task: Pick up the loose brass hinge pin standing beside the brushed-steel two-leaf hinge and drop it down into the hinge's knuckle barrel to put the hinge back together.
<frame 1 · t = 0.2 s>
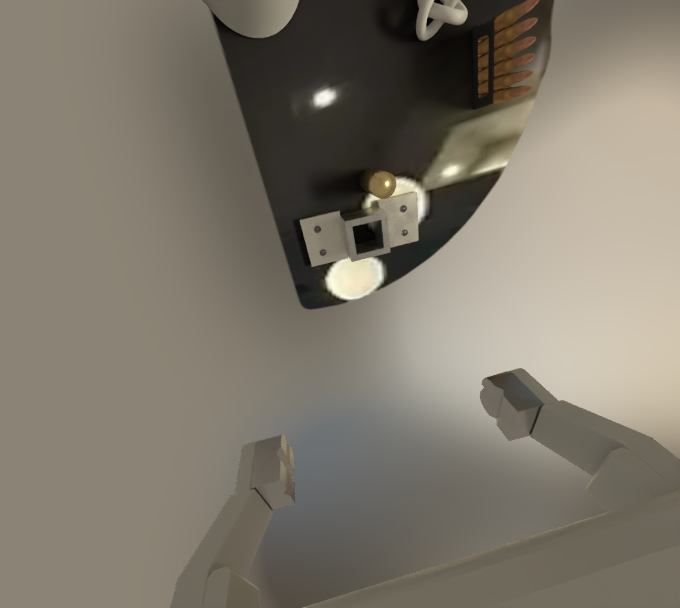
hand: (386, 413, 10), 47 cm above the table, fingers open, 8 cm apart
knot: (433, 13, 40), on the table
hinge: (361, 229, 55), on the table
hinge pin: (369, 180, 50), on the table
ammunition clip: (477, 70, 44), on the table
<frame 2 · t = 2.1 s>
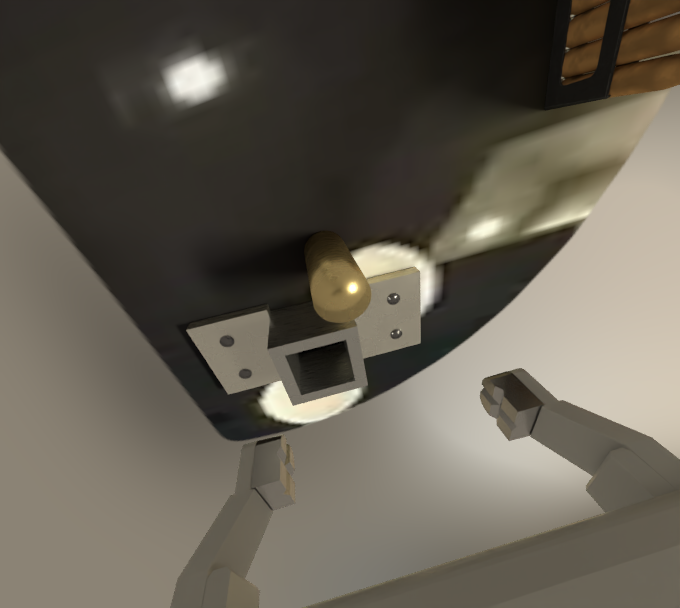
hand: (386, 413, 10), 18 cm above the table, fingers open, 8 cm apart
hinge: (316, 330, 30), on the table
hinge pin: (325, 251, 25), on the table
ammunition clip: (563, 20, 19), on the table
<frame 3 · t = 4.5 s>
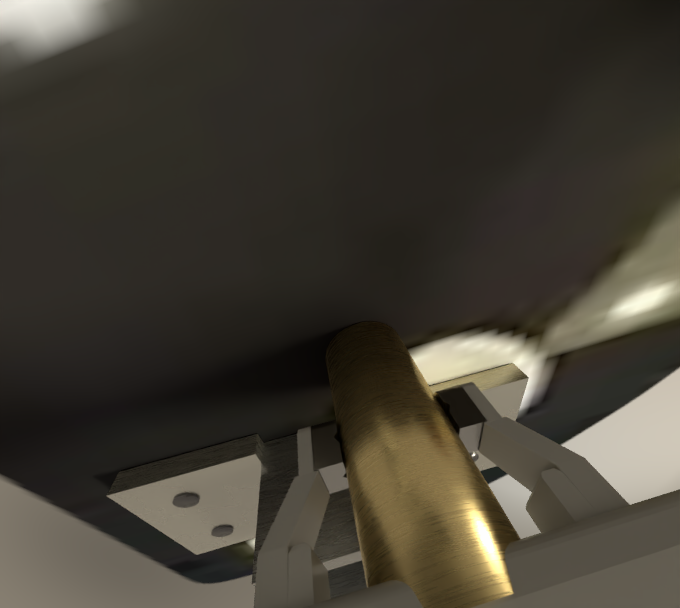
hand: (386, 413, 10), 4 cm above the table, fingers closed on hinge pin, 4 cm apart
hinge: (339, 458, 18), on the table
hinge pin: (363, 353, 13), on the table, touching gripper
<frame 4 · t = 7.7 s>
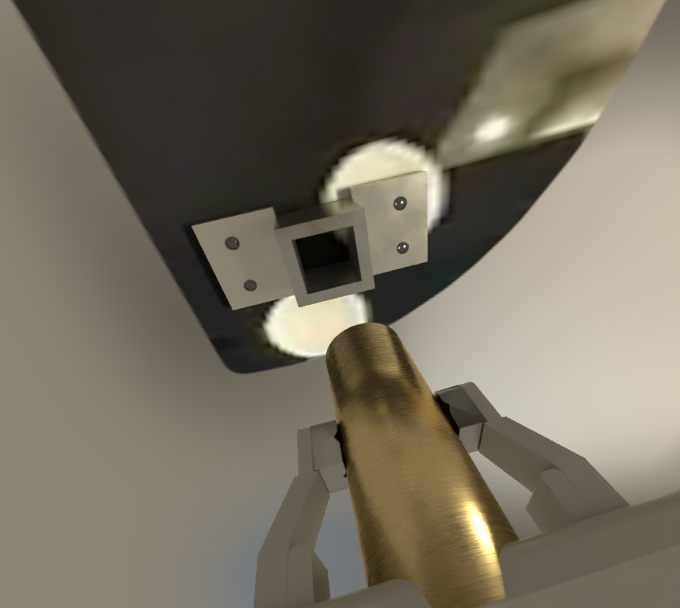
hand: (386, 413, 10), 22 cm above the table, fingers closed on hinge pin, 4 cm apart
hinge: (321, 242, 29), on the table
hinge pin: (364, 354, 13), point 19 cm above the table, touching gripper
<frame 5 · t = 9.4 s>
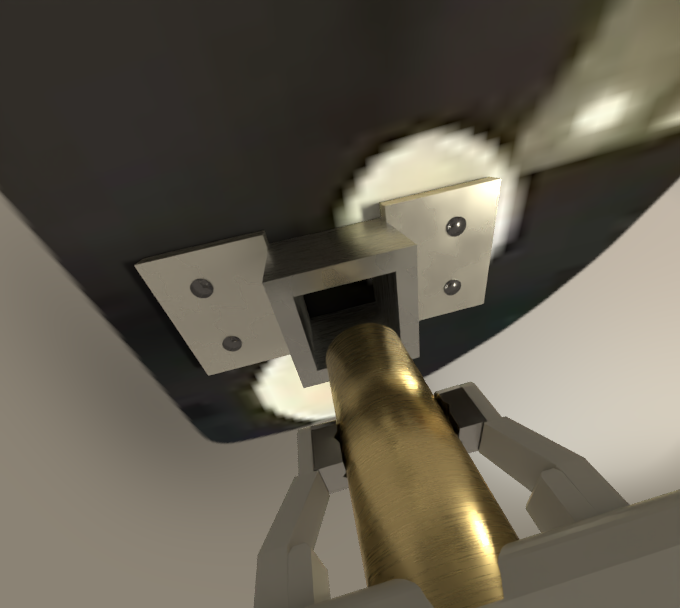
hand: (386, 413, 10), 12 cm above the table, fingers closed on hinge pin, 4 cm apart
hinge: (336, 280, 20), on the table
hinge pin: (364, 355, 13), point 8 cm above the table, touching gripper
when the fingers open (8 cm above the table, at t = 11.0 s): hinge pin drops 4 cm, resting in hinge.
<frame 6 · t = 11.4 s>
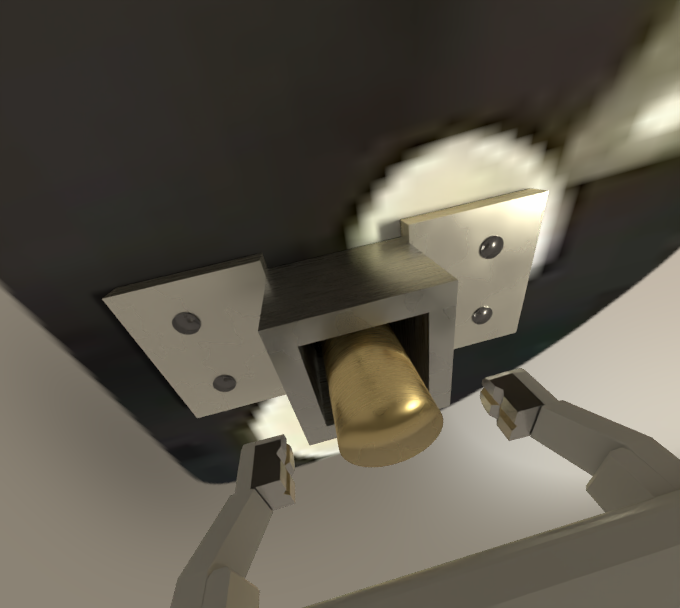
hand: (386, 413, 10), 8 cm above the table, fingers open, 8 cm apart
hinge: (347, 308, 17), on the table
hinge pin: (345, 309, 17), resting in hinge
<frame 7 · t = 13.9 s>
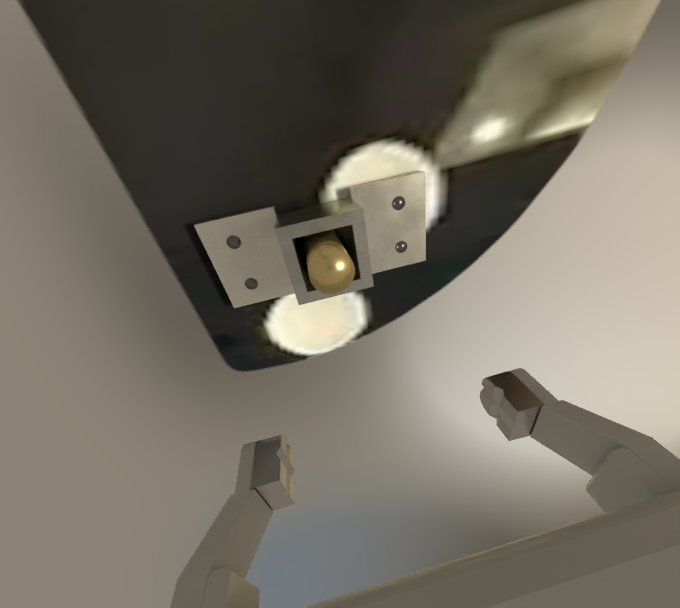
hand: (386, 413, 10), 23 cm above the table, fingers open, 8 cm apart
hinge: (321, 241, 30), on the table
hinge pin: (320, 241, 30), resting in hinge
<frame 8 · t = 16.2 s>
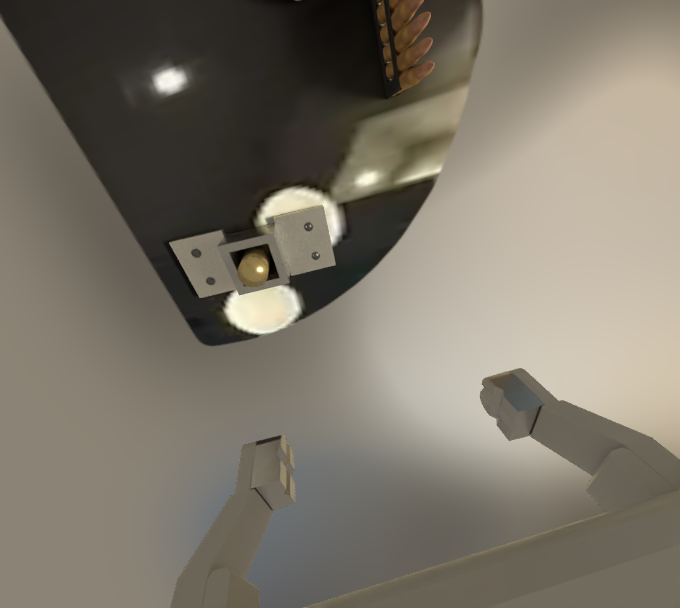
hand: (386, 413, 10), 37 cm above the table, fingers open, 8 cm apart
hinge: (259, 252, 43), on the table
hinge pin: (258, 252, 43), resting in hinge
ammunition clip: (384, 46, 33), on the table
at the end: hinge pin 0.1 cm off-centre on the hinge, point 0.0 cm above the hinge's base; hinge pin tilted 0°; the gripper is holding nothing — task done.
